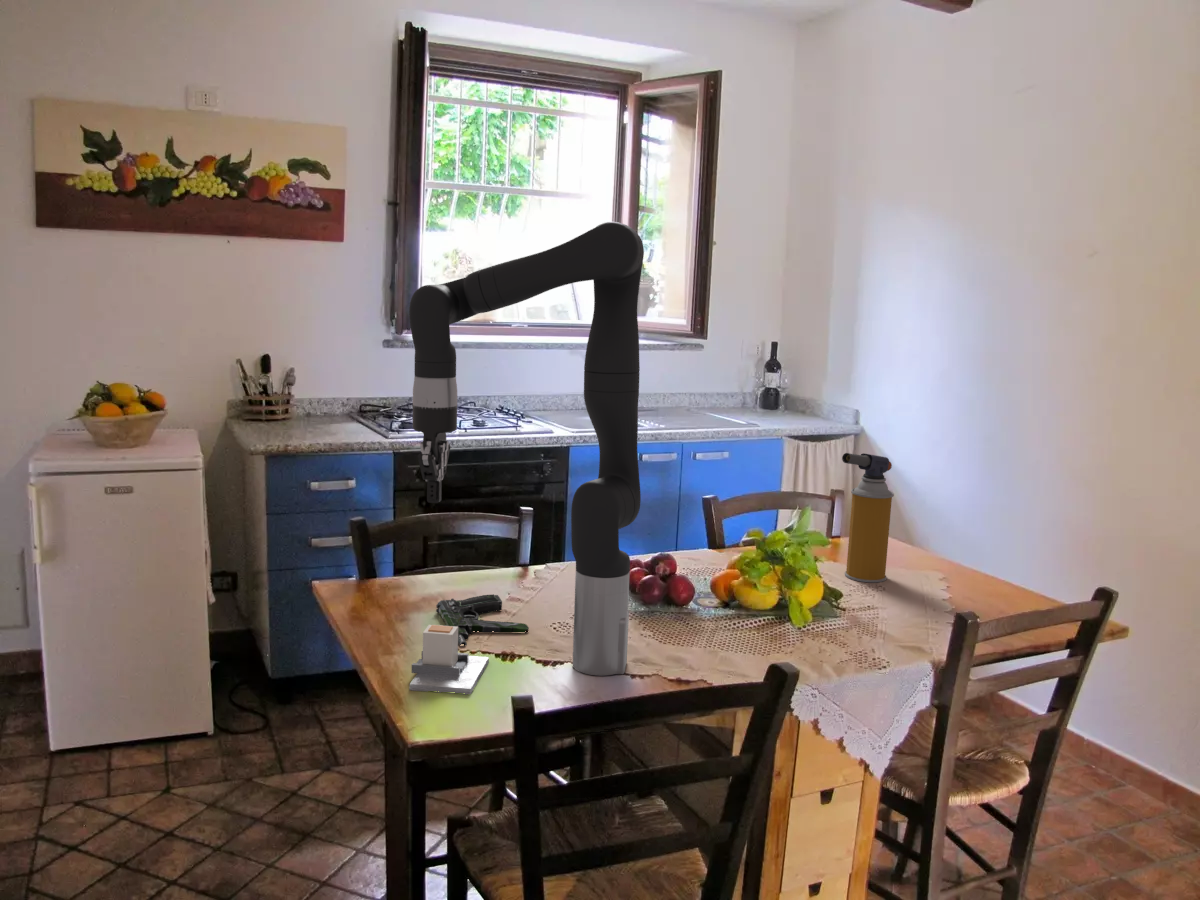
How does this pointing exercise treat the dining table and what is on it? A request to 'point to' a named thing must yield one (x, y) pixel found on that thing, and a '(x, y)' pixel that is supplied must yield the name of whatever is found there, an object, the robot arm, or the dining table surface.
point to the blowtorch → (869, 519)
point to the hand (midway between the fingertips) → (434, 501)
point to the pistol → (475, 616)
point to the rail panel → (449, 675)
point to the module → (440, 645)
